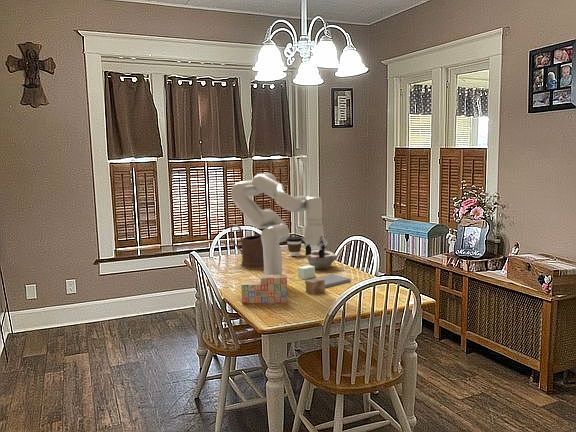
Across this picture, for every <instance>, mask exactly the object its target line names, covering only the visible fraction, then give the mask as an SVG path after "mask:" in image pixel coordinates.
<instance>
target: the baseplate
mask: <svg viewBox="0 0 576 432" xmlns="http://www.w3.org/2000/svg"><path fill="white" fill-rule="evenodd" d="M315 278H316V277H313V278H308V279H304V284H306V281H307V280H311V279H315ZM317 278H320V279H324V280H325V289H326V288H330V287H333V286H338V285H341V284H345V283H349V281H350V282H351V280H352V279H351V278H350V277H345V276H342V275H338V274H333V273H331V274H327V275H322V276H318V277H317Z"/></svg>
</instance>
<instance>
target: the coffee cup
mask: <svg viewBox="0 0 576 432" xmlns="http://www.w3.org/2000/svg"><path fill="white" fill-rule="evenodd" d="M302 238H303V237H301V236H289V237H288V239H287V240H285V241H286V242H287V244H286V245H287V248H288V255H289V257H292V256H297V257H300V254H301V252H302V251H301V250H302V249H301V247H302V242H303V239H302Z"/></svg>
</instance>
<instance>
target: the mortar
mask: <svg viewBox="0 0 576 432" xmlns="http://www.w3.org/2000/svg"><path fill="white" fill-rule="evenodd" d="M324 253H325V257H323V258H319V250H311V255H306V252H304V255H305V257H306V259H307V261H308V264H309V265H310V266H315V270H320V271H321V270H327V269H330V268H331V266H332V264H333V262H334V261H336V260H337V258H338V255H337V254H335V253H334V252H332V251H330V250H324Z"/></svg>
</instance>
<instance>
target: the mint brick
mask: <svg viewBox="0 0 576 432" xmlns="http://www.w3.org/2000/svg"><path fill="white" fill-rule="evenodd" d="M297 278H298V279H302V280H309V279H313V278H316V269H315V266H311V265H310V264H309V265H304V266H299V267H297Z"/></svg>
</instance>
